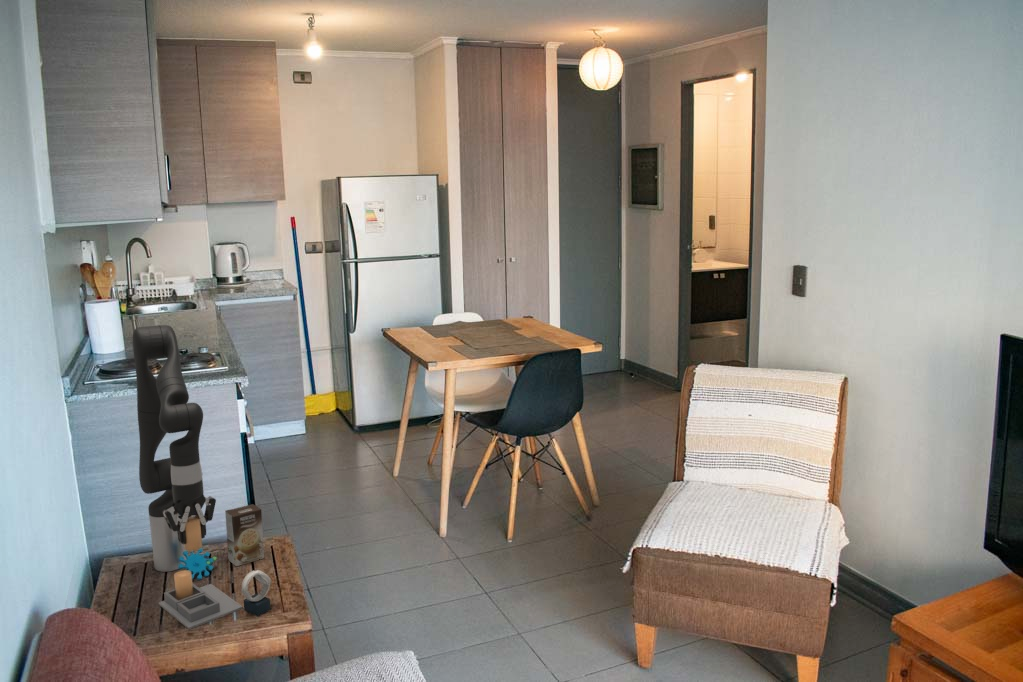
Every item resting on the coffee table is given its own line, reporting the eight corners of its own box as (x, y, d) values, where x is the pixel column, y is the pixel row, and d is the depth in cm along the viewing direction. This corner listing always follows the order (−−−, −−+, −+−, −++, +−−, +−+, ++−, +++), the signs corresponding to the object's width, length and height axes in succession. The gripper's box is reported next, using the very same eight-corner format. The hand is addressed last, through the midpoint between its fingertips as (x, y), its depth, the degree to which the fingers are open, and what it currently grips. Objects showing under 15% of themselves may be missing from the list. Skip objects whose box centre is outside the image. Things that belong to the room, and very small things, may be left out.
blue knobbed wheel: (183, 580, 240) (176, 549, 244) (177, 589, 243) (170, 558, 248) (221, 574, 247) (213, 543, 252) (215, 582, 251) (207, 552, 255)
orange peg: (181, 547, 221) (179, 519, 219) (197, 542, 224) (195, 514, 222) (189, 552, 218) (186, 524, 216) (205, 547, 221) (202, 519, 219)
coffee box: (236, 567, 251) (232, 517, 248) (228, 560, 256) (223, 510, 253) (265, 558, 257) (261, 509, 254) (256, 551, 262) (253, 503, 259)
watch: (276, 606, 228) (273, 568, 226) (252, 619, 221) (249, 580, 219) (262, 600, 231) (259, 563, 229) (238, 613, 224) (235, 575, 222)
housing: (158, 604, 230) (155, 575, 228) (211, 585, 240) (208, 557, 238) (188, 629, 217) (186, 599, 215) (242, 608, 227) (240, 579, 225)
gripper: (206, 468, 225) (212, 528, 228) (153, 482, 215) (159, 544, 218) (219, 475, 220) (224, 536, 223) (165, 489, 210) (172, 553, 213)
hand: (192, 540), depth 221 cm, fingers closed on orange peg, 4 cm apart
